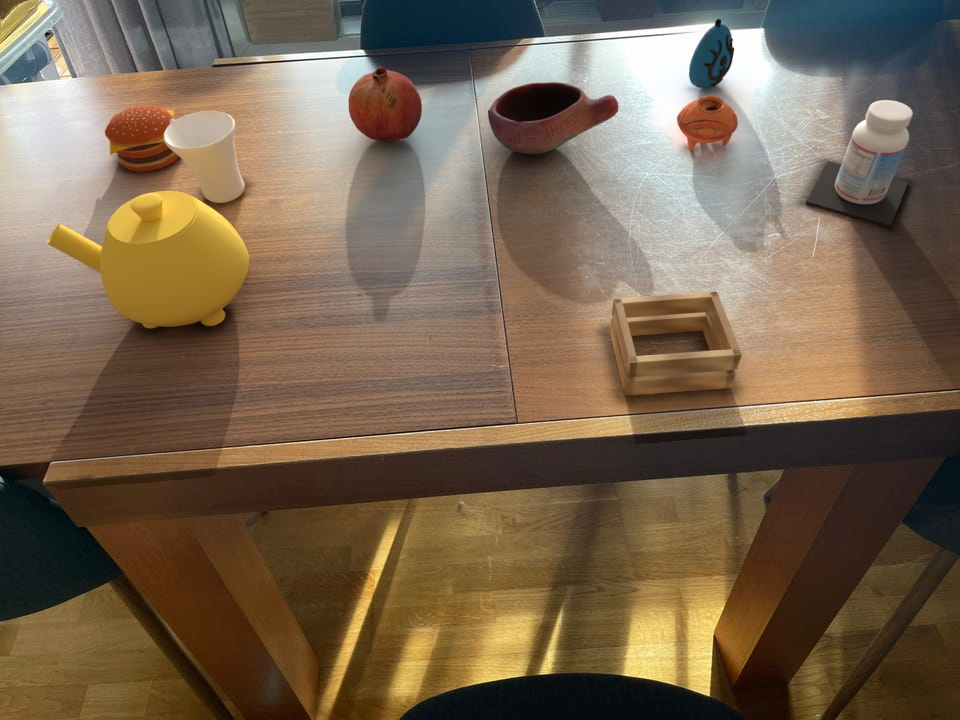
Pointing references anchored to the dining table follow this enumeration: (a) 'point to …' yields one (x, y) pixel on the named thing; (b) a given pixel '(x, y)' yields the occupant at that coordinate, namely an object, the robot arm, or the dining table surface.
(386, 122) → the fruit
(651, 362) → the crate
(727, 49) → the ornament
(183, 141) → the cup
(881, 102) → the pill bottle
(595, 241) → the dining table surface
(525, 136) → the bowl
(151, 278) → the teapot
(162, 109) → the hamburger
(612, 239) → the dining table surface
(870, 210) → the plate
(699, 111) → the pot
